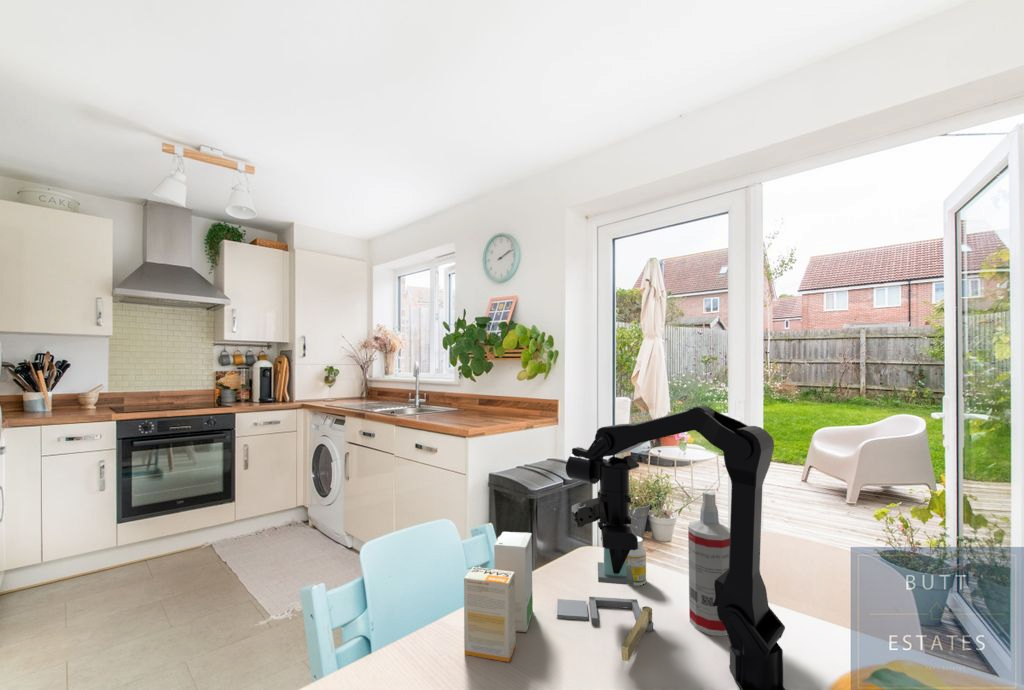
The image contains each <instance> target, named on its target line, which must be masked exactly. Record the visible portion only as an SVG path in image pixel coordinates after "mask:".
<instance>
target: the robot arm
mask: <svg viewBox="0 0 1024 690" xmlns="http://www.w3.org/2000/svg"><path fill="white" fill-rule="evenodd" d="M691 431H692V432H693V431H695V432H697V433H699V434H700V435H701V436H702V437H703V438H704V439H706V441H708V443H710V445H712V446H713V447H715V448H717V449H719V450H721V452H723V459H724V460H723V461H724V466H725V468H726V472H727V474H728V477H729V479H730V482H731V491H730V492H731V493H730V495H731V496H730V520H729V521H730V526H729V528H730V549H729V569H728V570H726V571H725V572H724V573H723V574H722V575H721V576H719V577H718V578H717V579H716V580H715V583H714V587H715V601H714V603H713V606H717V615H718V618H719V620H720V621H721V622H722V623H723V625H724V626H725V628H726V631H727V634H728V635H727V636H728V639H729V640H728V641H729V643H730V646H729V665H728V666H729V672H730V674H731V676H732V678H733V679H734V681H735V682H736V683H737V684H738V687H739V688H740V690H786V688H785V687H784V660H783V659H784V658H783V657H784V656H783V655H784V654H783V653H784V652H783V651H784V650H783V648H782V647H781V646H780V644H779V643H778V641H779V640H780V639H781V638H782V636H783V634H784V632H785V629H786V626H785V625H784V623H783V622H782V621H781V620H780V619H779V617H778V616H777V615H776V613H775V612H774V611H773V609H772V608H771V607H770V606H769V600H768V593H767V589H766V585H765V582H764V580H763V578H762V574H761V568H760V567H761V566H760V565H761V541H762V540H761V539H762V537H761V536H762V535H761V534H762V506H763V485H764V482H765V479H766V476H767V473H768V471H769V468H770V466H771V462H772V459H773V458H772V457H773V453H774V449H775V442H774V439H773V437H772V436H771V434H769V433H768V431H767V430H765V429H764V428H762V427H760V426H758V425H757V426H756V425H747V424H746V423H744V422H742V421H740V420H737V419H735V418H733V417H731V416H728V415H725V414H723V413H721V412H719V411H717V410H715V409H713V408H712V407H710V406H708V405H699V406H693V407H690V408H688V409H687V410H683V411H679V412H676V413H673V414H669V415H665V416H661V417H657V418H654V419H650V420H646V421H642V422H638V423H637V422H635V423H633V422H632V423H619V424H614V425H607V426H601V427H600V428H598V429H597V430H596V434H595V437H594V440H593V442H592V443H591V445H590V446H589V447H588V448H587V449H585V448H583V447H578V446H577V447H572V449H571V454H570V455H569V456H568V459H567V462H566V464H565V474H566V476H567V477H568V478H569V479H571V480H575V481H579V482H583V483H587V484H592V485H596V484H598V482H599V489H598V491H597V497H595V498H591V499H586V500H584V501H581V502H577V503H575V504H572V505H571V514H572V517H573V519H574V522H575V525H576V527H578V528H583V527H584V526H585V525H589V524H591V523H594V522H597V521H598V522H597V527H598V528H599V530H600V532H601V533H600V534H601V535H600V542H601V545H602V548H603V549H604V548H606V549H609V552H610V557H611V563H612V568H613V573H614V574H619V573H620V571H621V569H622V566H623V564H624V562H625V560H626V558H627V556H628V554H629V552H630V550H637V549H638V538H637V536H638V535H637V534H636V532H635V530H634V529H632V527H631V526H628V525H632V517H631V516H630V504H631V503H632V499H631V498H632V497H631V495H630V471H632V470H635V469H639V468H640V464H639V463H638V462H637V461H636V460H635V459H634V458H633V457H632V455H631V454H630V455H625V456H623V457H617V455H619V454H620V455H621V454H624V453H627V452H630V451H632V450H634V449H636V448H639V447H641V446H642V445H643V444H645V443H647V442H650V441H655V440H659V439H663V438H666V437H671V436H674V435H675V436H676V435H679V434H683V433H689V432H691ZM615 455H616V456H615ZM604 457H608V459H605V458H604Z"/></svg>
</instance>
